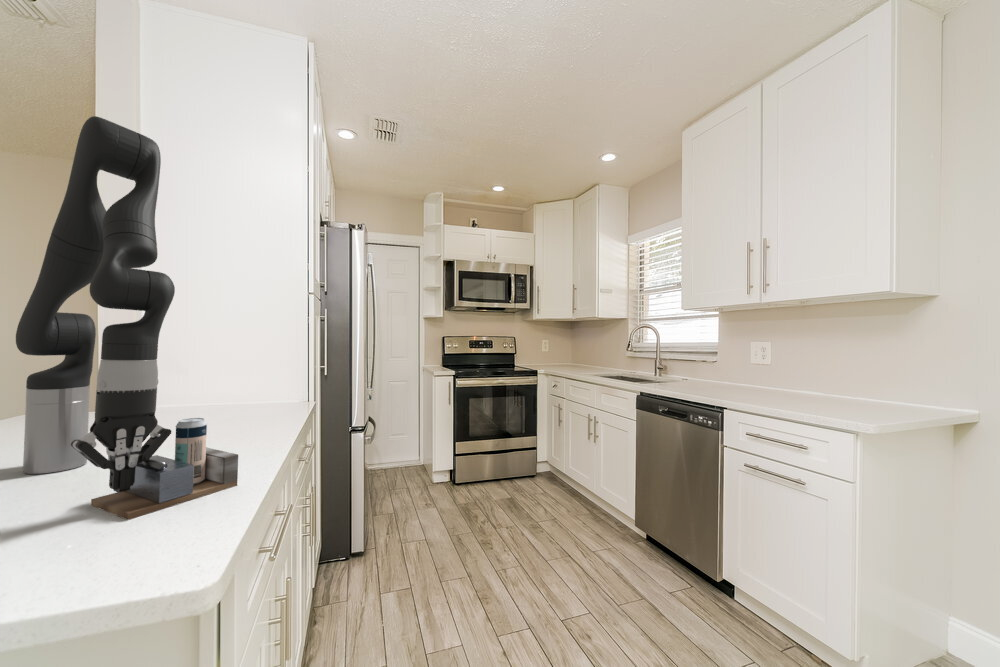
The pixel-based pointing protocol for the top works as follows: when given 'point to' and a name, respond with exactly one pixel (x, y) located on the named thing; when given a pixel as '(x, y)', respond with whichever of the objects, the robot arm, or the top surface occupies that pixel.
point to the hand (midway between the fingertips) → (121, 490)
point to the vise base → (217, 477)
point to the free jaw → (162, 479)
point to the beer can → (192, 445)
